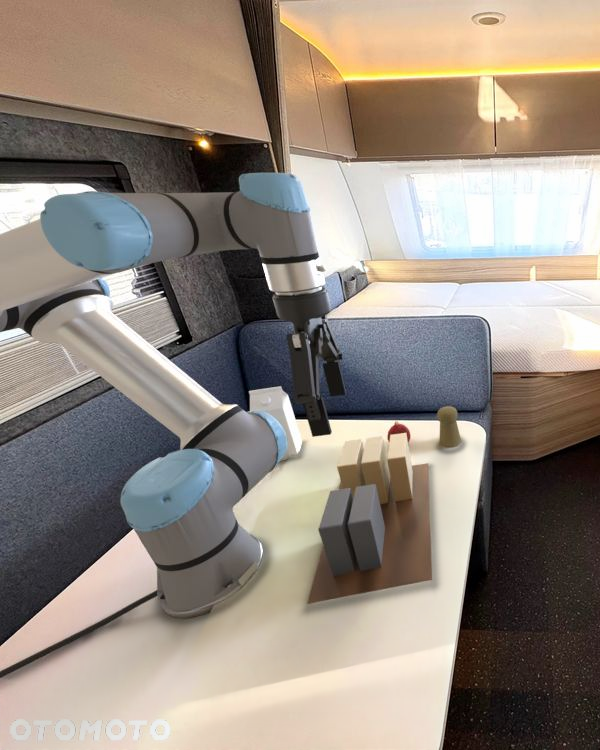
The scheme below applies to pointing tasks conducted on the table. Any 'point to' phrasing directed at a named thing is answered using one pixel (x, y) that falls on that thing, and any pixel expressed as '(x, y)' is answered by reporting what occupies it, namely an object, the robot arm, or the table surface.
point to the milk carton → (278, 414)
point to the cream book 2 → (376, 467)
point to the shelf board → (388, 548)
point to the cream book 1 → (351, 465)
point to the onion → (398, 430)
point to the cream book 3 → (400, 466)
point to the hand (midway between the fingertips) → (331, 413)
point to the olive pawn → (448, 427)
